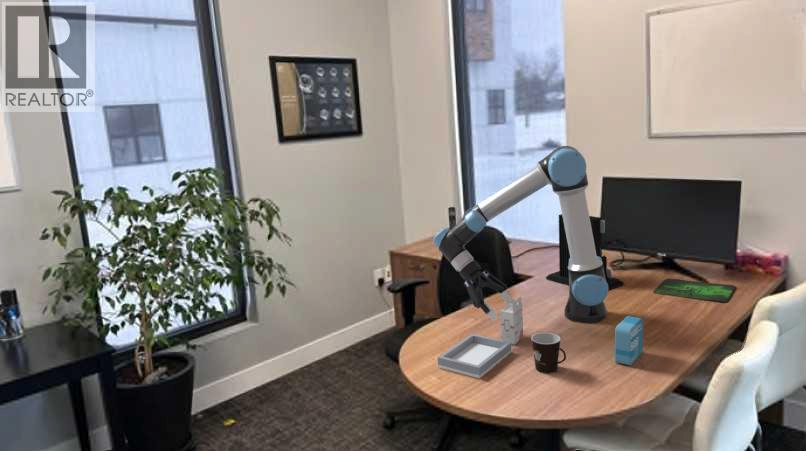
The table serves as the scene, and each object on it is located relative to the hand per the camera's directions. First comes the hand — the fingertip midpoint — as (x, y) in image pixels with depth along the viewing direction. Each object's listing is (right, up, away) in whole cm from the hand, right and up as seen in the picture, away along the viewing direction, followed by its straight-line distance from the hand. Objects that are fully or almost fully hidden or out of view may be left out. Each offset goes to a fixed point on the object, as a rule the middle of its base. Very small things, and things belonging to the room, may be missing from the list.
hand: (505, 313), depth 197 cm
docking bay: (-12, -13, -12) cm, 22 cm away
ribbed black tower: (+45, +5, +56) cm, 72 cm away
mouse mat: (+83, +3, +36) cm, 90 cm away
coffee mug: (+9, -14, -23) cm, 29 cm away
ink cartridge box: (+2, -9, +1) cm, 10 cm away
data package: (+35, -11, -19) cm, 41 cm away
